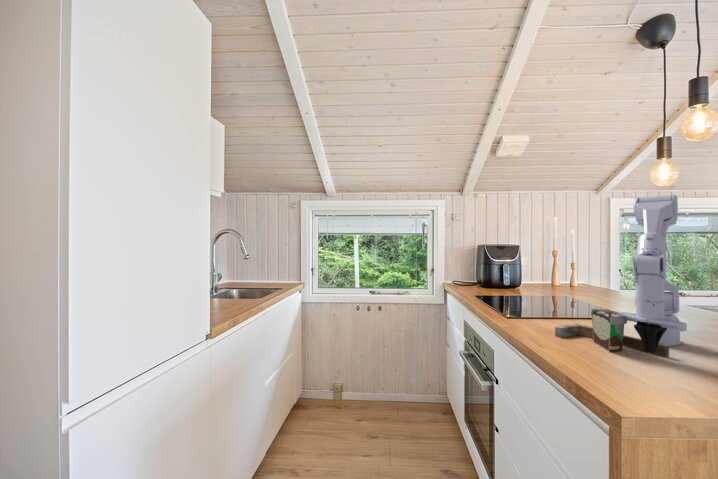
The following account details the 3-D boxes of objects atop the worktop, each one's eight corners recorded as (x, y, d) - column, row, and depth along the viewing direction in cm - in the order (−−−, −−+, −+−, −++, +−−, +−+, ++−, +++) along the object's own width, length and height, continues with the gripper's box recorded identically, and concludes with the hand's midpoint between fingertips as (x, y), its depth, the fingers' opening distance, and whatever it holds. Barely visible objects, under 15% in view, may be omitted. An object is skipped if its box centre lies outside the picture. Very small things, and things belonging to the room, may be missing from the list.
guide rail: (575, 332, 115) (575, 323, 115) (669, 356, 91) (669, 345, 91) (555, 336, 112) (555, 326, 112) (646, 361, 87) (646, 350, 87)
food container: (637, 355, 93) (637, 317, 93) (612, 353, 94) (611, 317, 94) (613, 341, 105) (613, 309, 105) (591, 341, 106) (590, 308, 106)
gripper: (610, 297, 96) (611, 346, 96) (674, 306, 82) (675, 363, 82) (627, 295, 98) (627, 343, 98) (691, 304, 85) (692, 359, 85)
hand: (650, 352), depth 90 cm, fingers closed
